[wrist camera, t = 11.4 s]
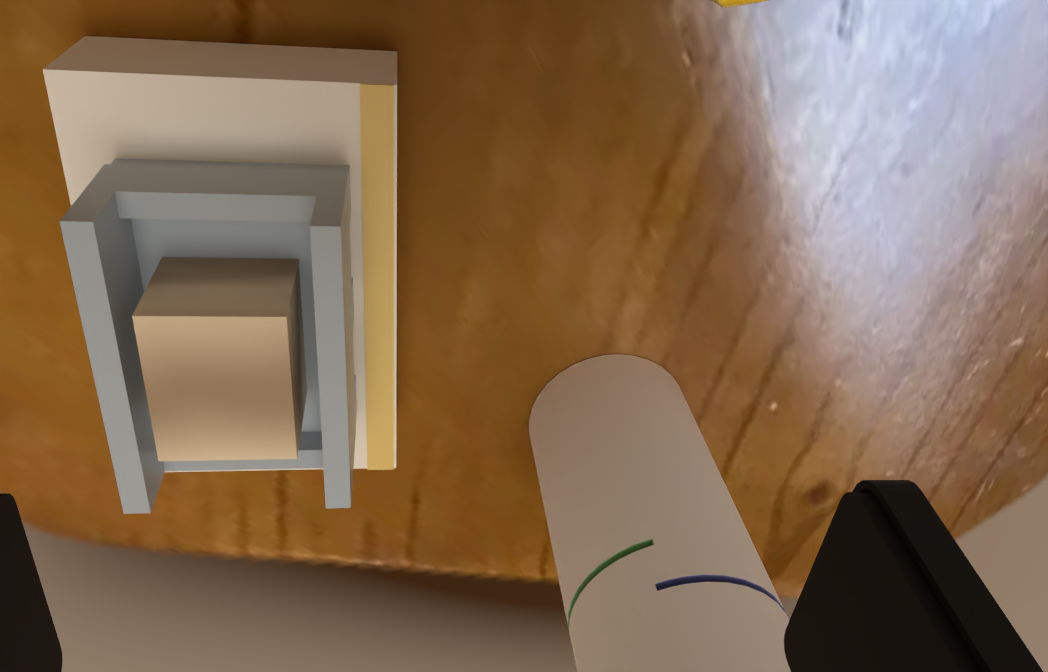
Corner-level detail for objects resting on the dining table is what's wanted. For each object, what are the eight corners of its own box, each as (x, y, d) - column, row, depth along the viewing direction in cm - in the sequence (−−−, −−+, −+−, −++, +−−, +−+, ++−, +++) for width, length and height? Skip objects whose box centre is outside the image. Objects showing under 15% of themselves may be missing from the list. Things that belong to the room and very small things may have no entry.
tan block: (161, 256, 26) (132, 316, 23) (298, 258, 27) (286, 316, 24) (183, 392, 29) (158, 461, 26) (307, 391, 29) (297, 459, 26)
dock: (85, 36, 28) (41, 70, 25) (397, 51, 30) (396, 85, 26) (152, 409, 36) (125, 474, 33) (396, 406, 37) (396, 469, 34)
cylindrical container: (684, 467, 41) (979, 1167, 20) (536, 491, 41) (680, 1228, 20) (684, 342, 38) (1048, 1047, 17) (520, 367, 37) (679, 1119, 16)
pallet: (113, 152, 26) (59, 221, 22) (349, 159, 27) (340, 226, 23) (160, 417, 32) (123, 513, 27) (357, 414, 33) (350, 507, 28)
